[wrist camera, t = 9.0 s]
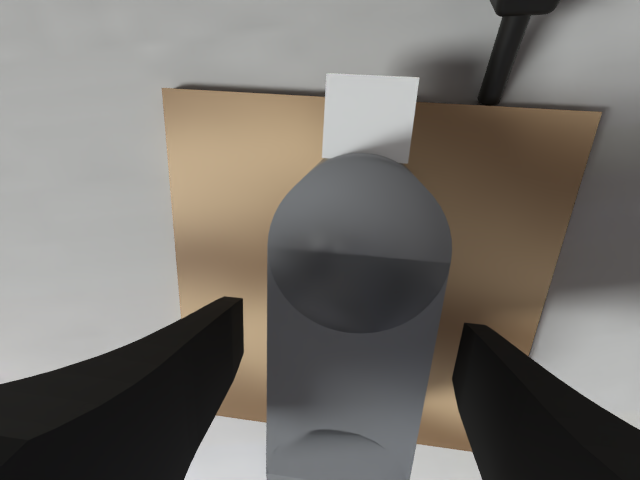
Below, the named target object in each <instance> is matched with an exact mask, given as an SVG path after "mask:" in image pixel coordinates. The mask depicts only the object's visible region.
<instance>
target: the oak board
mask: <svg viewBox="0 0 640 480" xmlns="http://www.w3.org/2000/svg"><path fill="white" fill-rule="evenodd" d="M162 96H163V108H164V119H165V131H166V143H167V155H168V167H169V179H170V191H171V203H172V215H173V227H174V238H175V250H176V262H177V274H178V286H179V298H180V310H181V319H182V318H184V317H186V316H187V315H189V314H191V313H193V312H195V311H197V310H199V309H200V308H202V307H204V306H206V305H208V304H210V303H211V302H213V301H215V300H217V299H219V298H222V297H224V296H227V297H236V298H243V325H244V354H243V357H242V360H241V363H240V365H239V368H238V371H237V373H236V376H235V379H234V381H233V383H232V385H231V387H230V389H229V391H228V393H227V395H226V397H225V398H224V400H223V402H222V404H221V406H220V408H219V410H218V412H217V414H216V415H217V416H224V417H231V418H238V419H245V420H252V421H259V422H266V423H267V244H268V234H269V229H270V225H271V222H272V219H273V216H274V214H275V212H276V210H277V208H278V206H279V204H280V203H281V201H282V200H283V199H284V197H285V196H286V195H287V193H288V192H289V191H290V190H291V189H292V188H293V187H294V186H295V185H296V184H297V183H298V182H299V181H300V180H301V179H302V178H303V177H305V176H306V175H307V174H308V173H309V172H310V171H311V170H312V169H313V168H314V167H315V166H316V165H317V164H318V163H319V162H320V161H321V160H322V159H324V158H322V146H323V127H324V109H325V97H318V96H300V95H281V94H263V93H245V92H226V91H208V90H190V89H171V88H162ZM601 114H602V112H593V111H574V110H556V109H538V108H519V107H501V106H483V105H464V104H446V103H428V102H416V107H415V114H414V122H413V129H412V137H411V144H410V152H409V159H408V164H405V163H403V164H404V165H405V166H406V167H407V168H408V169H409V170H410V171H411V172H412V174H413V175H414V176H415V177H416V178H417V179H418V180H419V181H420V182H421V183H422V184H423V185H424V186H425V188H426V189H427V190H428V191H429V192H430V193H431V194H432V195H433V196H434V198H435V199H436V200H437V202H438V203H439V205H440V206H441V208H442V210H443V212H444V214H445V216H446V219H447V222H448V225H449V228H450V233H451V238H452V257H451V265H450V270H449V275H448V281H447V286H446V291H445V296H444V302H443V307H442V312H441V317H440V323H439V328H438V333H437V338H436V344H435V349H434V354H433V359H432V365H431V370H430V375H429V380H428V386H427V391H426V396H425V401H424V407H423V412H422V417H421V422H420V428H419V433H418V438H417V443H416V444H422V445H429V446H436V447H443V448H450V449H457V450H464V451H471V452H472V449H471V446H470V443H469V440H468V437H467V435H466V432H465V429H464V426H463V423H462V420H461V417H460V414H459V411H458V407H457V402H456V398H455V393H454V387H453V382H452V375H453V371H454V366H455V362H456V357H457V353H458V348H459V344H460V339H461V335H462V330H463V326H464V323H473V324H483V325H487V326H488V327H490V328H491V329H493V330H494V331H496V332H497V333H498V334H500V335H501V336H502V337H504V338H505V339H506V340H508V341H509V342H510V343H511V344H513V345H514V346H515V347H517V348H518V349H519V350H521V351H522V352H523V353H525V354H526V355H527V356H529V353H530V350H531V346H532V343H533V340H534V336H535V333H536V330H537V326H538V323H539V320H540V316H541V313H542V310H543V306H544V303H545V300H546V297H547V293H548V290H549V287H550V283H551V280H552V277H553V273H554V270H555V267H556V263H557V260H558V257H559V253H560V250H561V247H562V243H563V240H564V237H565V234H566V230H567V227H568V224H569V220H570V217H571V214H572V210H573V207H574V204H575V200H576V197H577V194H578V190H579V187H580V184H581V181H582V177H583V174H584V171H585V167H586V164H587V161H588V157H589V154H590V151H591V147H592V144H593V141H594V137H595V134H596V131H597V127H598V124H599V121H600V118H601Z"/></svg>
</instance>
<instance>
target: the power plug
mask: <svg viewBox="0 0 640 480" xmlns="http://www.w3.org/2000/svg"><path fill="white" fill-rule="evenodd" d="M559 1H560V0H490V2H491V4H492V6H493V8H494V10H495V12H496V14H497V15H498V16H501V17H502V20H501V24H500V27H499V30H498V33H497V37H496V40H495V43H494V47H493V50H492V53H491V56H490V60H489V63H488V66H487V69H486V73H485V76H484V79H483V83H482V86H481V89H480V92H479V96H478V101H479V103H481V104H483V105H486V106H493V105H496V104H498V103H499V102H500V99H501V96H502V93H503V91H504V88H505V85H506V82H507V80H508V77H509V74H510V71H511V69H512V66H513V63H514V60H515V58H516V55H517V52H518V49H519V47H520V44H521V41H522V38H523V36H524V33H525V30H526V27H527V25H528V22H529V19H530V16H531V15H543V14H548V13H550V12H552V11H553V10H554V9H555V8H556V6H557V5H558V3H559Z"/></svg>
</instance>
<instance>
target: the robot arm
mask: <svg viewBox="0 0 640 480" xmlns="http://www.w3.org/2000/svg"><path fill="white" fill-rule="evenodd" d="M243 354H244V325H243V298H236V297H227V296H224V297H222V298H219V299H217V300H215V301H213V302H211V303H210V304H208V305H206V306H204V307H202V308H200V309H199V310H197V311H195V312H193V313H191V314H189V315H187V316H186V317H184V318H182V319H180V320H178V321H176V322H174V323H173V324H171V325H168V326H166V327H164V328H162V329H160V330H158V331H156V332H154V333H152V334H150V335H148V336H146V337H144V338H142V339H140V340H137V341H135V342H133V343H130V344H128V345H126V346H123V347H121V348H118V349H116V350H113V351H110V352H108V353H105V354H103V355H100V356H97V357H94V358H91V359H88V360H85V361H82V362H79V363H76V364H73V365H69V366H66V367H63V368H60V369H57V370H54V371H50V372H47V373H43V374H39V375H36V376H32V377H28V378H24V379H20V380H16V381H12V382H8V383H4V384H0V480H184V478H185V476H186V473H187V471H188V469H189V466H190V464H191V462H192V460H193V458H194V455H195V453H196V451H197V449H198V447H199V445H200V443H201V442H202V440H203V438H204V436H205V434H206V432H207V430H208V428H209V427H210V425H211V423H212V421H213V419H214V417H215V415H216V414H217V412H218V410H219V408H220V406H221V404H222V402H223V400H224V398H225V397H226V395H227V393H228V391H229V389H230V387H231V385H232V383H233V381H234V379H235V376H236V373H237V371H238V368H239V365H240V363H241V360H242V357H243ZM452 382H453V387H454V393H455V398H456V402H457V407H458V411H459V414H460V417H461V420H462V423H463V426H464V429H465V432H466V435H467V437H468V440H469V443H470V446H471V449H472V452H473V454H474V457H475V460H476V463H477V466H478V469H479V471H480V474H481V477H482V480H640V430H639V429H637V428H635V427H634V426H632V425H630V424H628V423H627V422H625V421H623V420H622V419H620V418H618V417H617V416H615V415H613V414H612V413H610V412H608V411H607V410H605V409H604V408H602V407H600V406H599V405H597V404H595V403H594V402H592V401H591V400H589V399H588V398H586V397H585V396H583V395H582V394H580V393H579V392H577V391H576V390H574V389H573V388H571V387H570V386H568V385H567V384H565V383H564V382H563V381H561V380H560V379H558V378H557V377H555V376H554V375H553V374H551V373H550V372H549V371H547V370H546V369H544V368H543V367H542V366H540V365H539V364H538V363H536V362H535V361H534V360H532V359H531V358H530V357H528V356H527V355H526V354H525V353H523V352H522V351H521V350H519V349H518V348H517V347H515V346H514V345H513V344H511V343H510V342H509V341H508V340H506V339H505V338H504V337H502V336H501V335H500V334H498V333H497V332H496V331H494V330H493V329H491V328H490V327H488V326H487V325H483V324H473V323H464V326H463V330H462V335H461V339H460V344H459V348H458V353H457V357H456V362H455V366H454V371H453V375H452Z"/></svg>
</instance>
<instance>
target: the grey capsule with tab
mask: <svg viewBox="0 0 640 480" xmlns="http://www.w3.org/2000/svg"><path fill="white" fill-rule="evenodd" d="M418 84H419V77H400V76H378V75H356V74H333V73H326V90H325V109H324V127H323V146H322V158H324V159H322V160H321V161H320V162H319V163H318V164H317V165H316V166H315V167H314V168H313V169H312V170H311V171H310V172H309V173H308V174H307V175H306V176H305V177H303V178H302V179H301V180H300V181H299V182H298V183H297V184H296V185H295V186H294V187H293V188H292V189H291V190H290V191H289V192H288V193H287V195H286V196H285V197H284V199H283V200H282V201H281V203H280V204H279V206H278V208H277V210H276V212H275V214H274V216H273V219H272V222H271V225H270V229H269V234H268V244H267V434H266V476H267V480H410V475H411V469H412V464H413V459H414V454H415V449H416V443H417V438H418V433H419V428H420V422H421V417H422V412H423V407H424V401H425V396H426V391H427V386H428V380H429V375H430V370H431V365H432V359H433V354H434V349H435V344H436V338H437V333H438V328H439V323H440V317H441V312H442V307H443V302H444V296H445V291H446V286H447V281H448V275H449V270H450V265H451V257H452V238H451V233H450V228H449V225H448V222H447V219H446V216H445V214H444V212H443V210H442V208H441V206H440V205H439V203H438V202H437V200H436V199H435V198H434V196H433V195H432V194H431V193H430V192H429V191H428V190H427V189H426V188H425V186H424V185H423V184H422V183H421V182H420V181H419V180H418V179H417V178H416V177H415V176H414V175H413V174H412V172H411V171H410V170H409V169H408V168H407V167H406V166H405V165H404V164H403V163H405V164H408V159H409V152H410V144H411V137H412V129H413V122H414V114H415V107H416V99H417V92H418Z"/></svg>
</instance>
